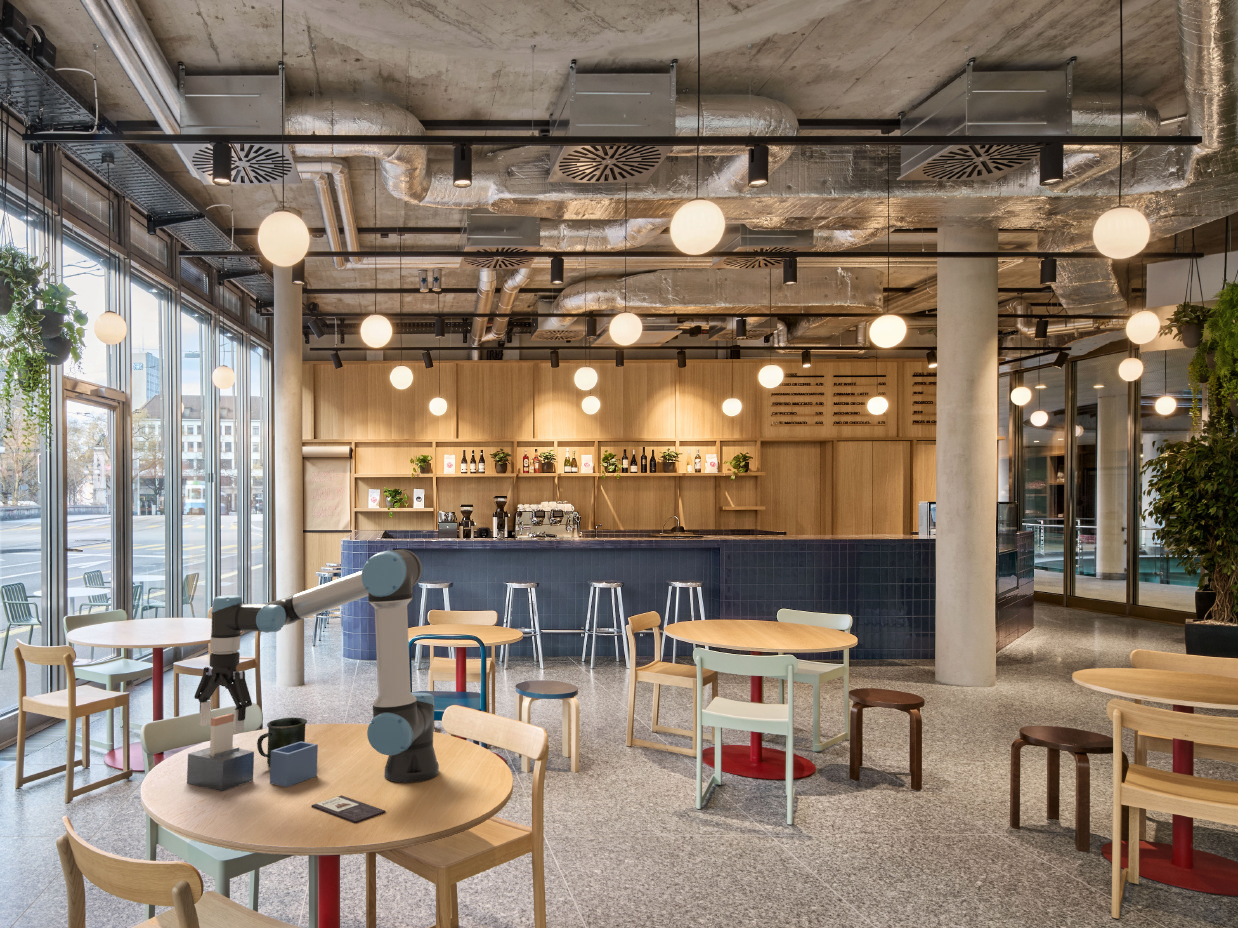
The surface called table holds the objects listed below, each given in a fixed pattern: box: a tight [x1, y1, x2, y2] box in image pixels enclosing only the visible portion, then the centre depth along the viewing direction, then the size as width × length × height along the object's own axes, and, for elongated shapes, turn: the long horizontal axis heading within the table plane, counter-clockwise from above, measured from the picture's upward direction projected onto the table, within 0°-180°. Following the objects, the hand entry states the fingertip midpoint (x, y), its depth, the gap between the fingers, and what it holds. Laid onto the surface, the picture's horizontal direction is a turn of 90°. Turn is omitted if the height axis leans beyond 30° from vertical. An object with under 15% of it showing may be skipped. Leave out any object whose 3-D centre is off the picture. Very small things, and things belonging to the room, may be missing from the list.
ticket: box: [209, 712, 234, 756], centre depth 229 cm, size 2×6×16 cm, turn 154°
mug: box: [256, 717, 308, 767], centre depth 245 cm, size 11×15×12 cm
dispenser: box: [186, 746, 255, 793], centre depth 229 cm, size 14×10×9 cm
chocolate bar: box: [311, 795, 387, 825], centre depth 209 cm, size 9×1×18 cm
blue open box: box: [269, 741, 319, 788], centre depth 232 cm, size 7×11×9 cm, turn 154°
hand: (221, 728), depth 229 cm, fingers open, 13 cm apart
